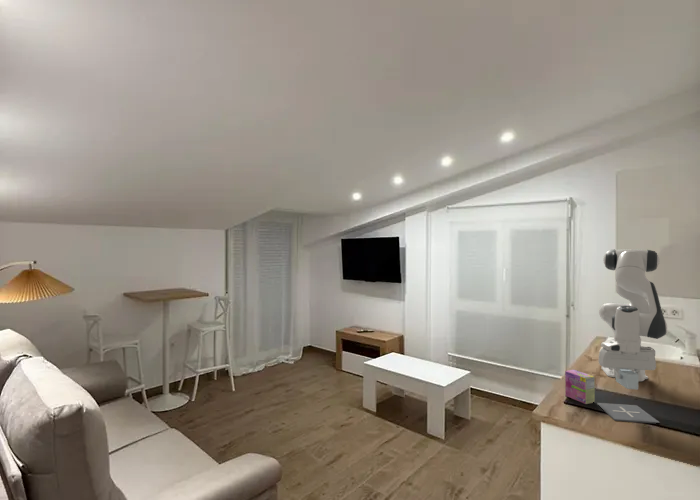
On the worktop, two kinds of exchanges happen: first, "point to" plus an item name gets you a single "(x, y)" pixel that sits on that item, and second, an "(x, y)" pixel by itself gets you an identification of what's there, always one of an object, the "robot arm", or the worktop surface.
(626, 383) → the block
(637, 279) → the robot arm
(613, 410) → the mat
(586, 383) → the box
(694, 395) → the worktop surface
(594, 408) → the worktop surface
